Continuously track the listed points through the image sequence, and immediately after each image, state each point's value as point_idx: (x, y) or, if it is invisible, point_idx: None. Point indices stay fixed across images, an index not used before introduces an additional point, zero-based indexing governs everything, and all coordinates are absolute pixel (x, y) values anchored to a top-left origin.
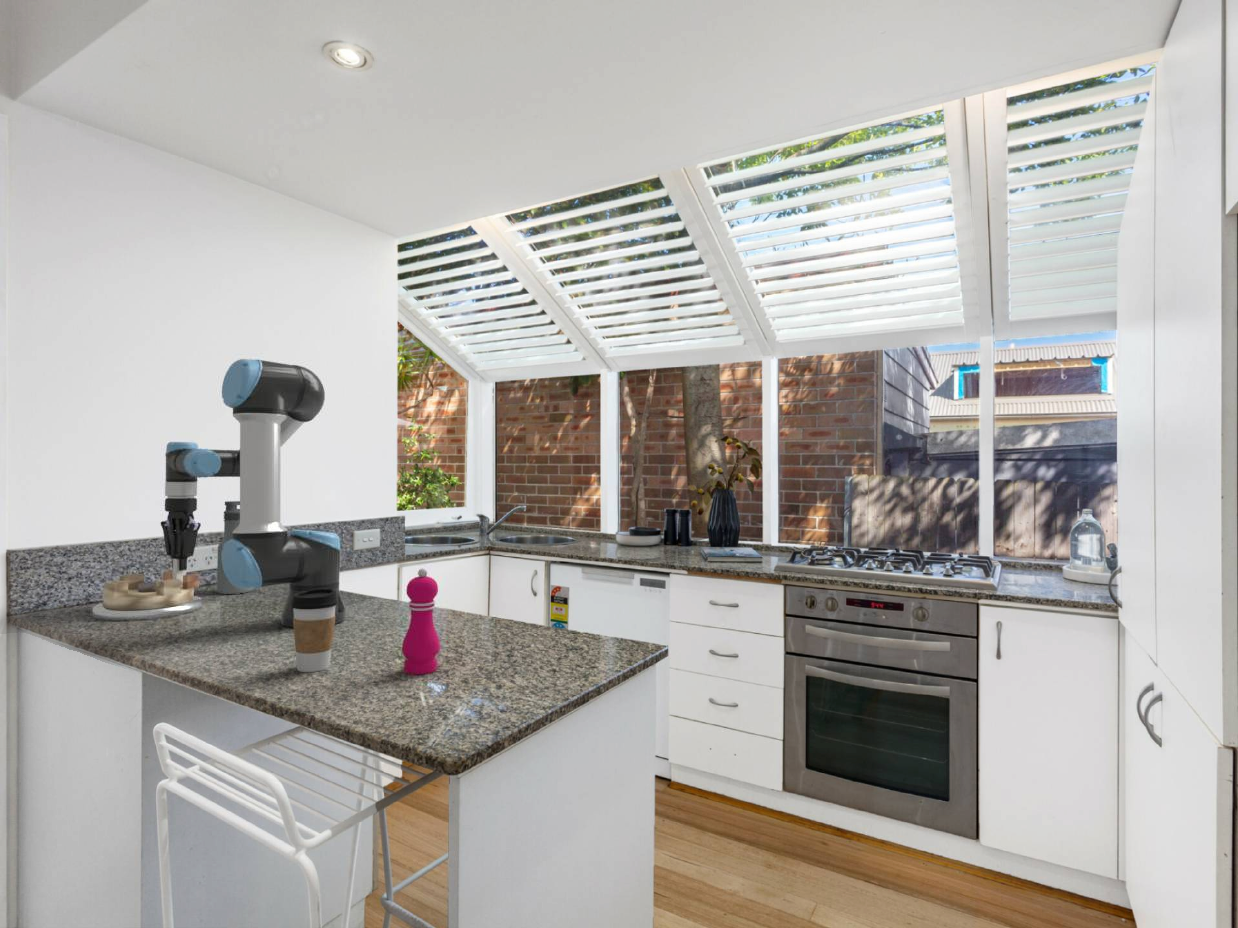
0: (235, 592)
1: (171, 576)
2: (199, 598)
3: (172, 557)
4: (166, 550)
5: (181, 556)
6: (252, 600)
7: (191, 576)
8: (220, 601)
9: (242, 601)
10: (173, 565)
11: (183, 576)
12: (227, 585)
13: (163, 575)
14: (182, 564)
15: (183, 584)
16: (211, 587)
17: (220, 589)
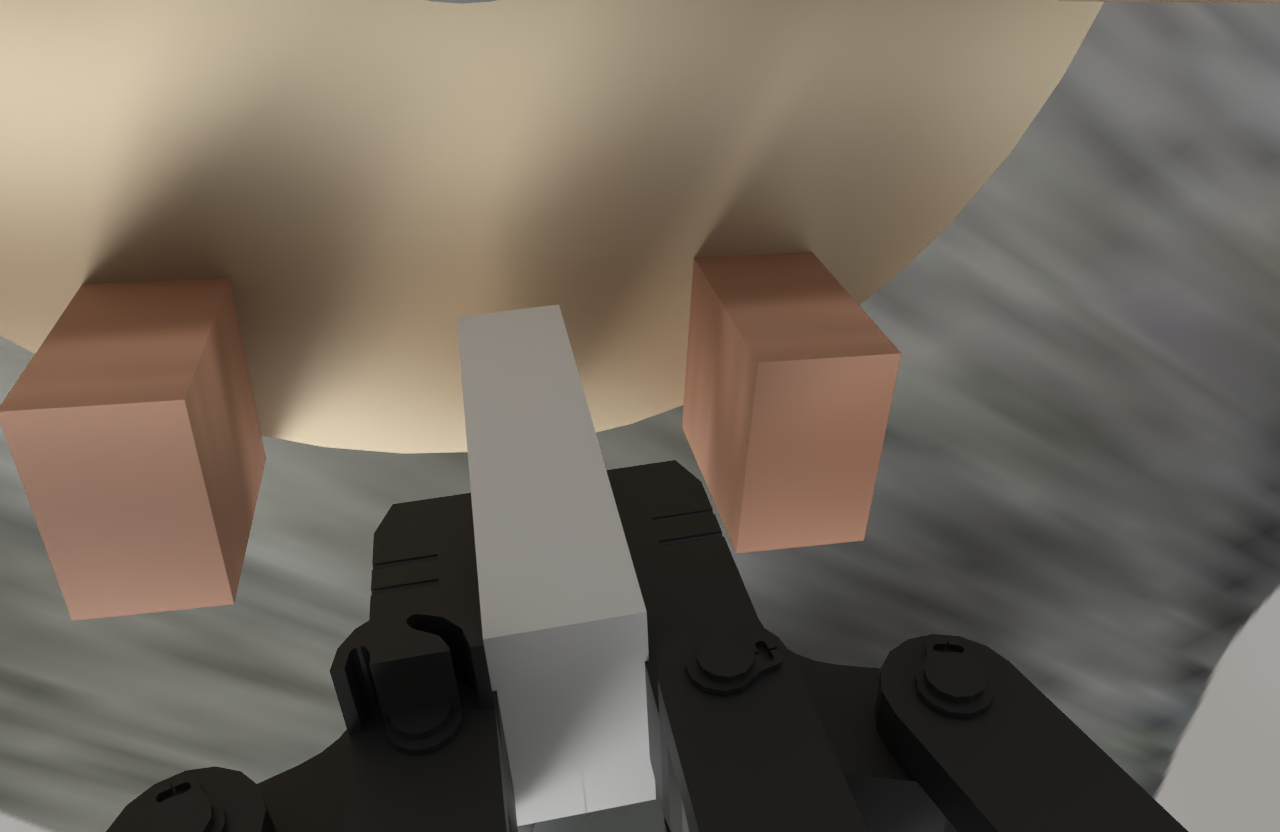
0: None
1: (726, 397)
2: None
3: (715, 639)
4: (1070, 748)
5: (355, 766)
6: (92, 763)
7: (31, 474)
8: (311, 581)
9: (114, 695)
10: (601, 495)
11: (169, 388)
12: (617, 821)
13: (857, 329)
14: (371, 609)
15: (200, 310)
16: None
17: None
